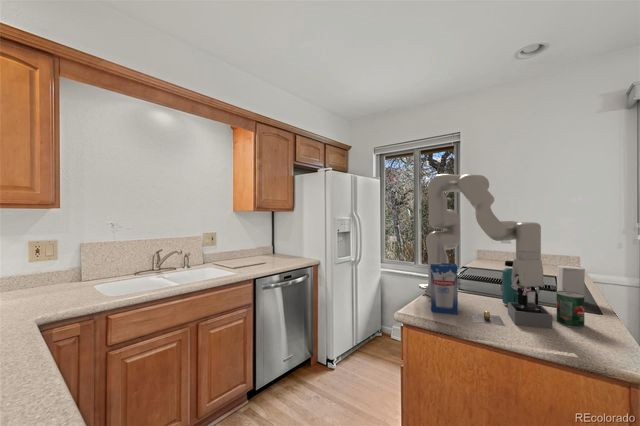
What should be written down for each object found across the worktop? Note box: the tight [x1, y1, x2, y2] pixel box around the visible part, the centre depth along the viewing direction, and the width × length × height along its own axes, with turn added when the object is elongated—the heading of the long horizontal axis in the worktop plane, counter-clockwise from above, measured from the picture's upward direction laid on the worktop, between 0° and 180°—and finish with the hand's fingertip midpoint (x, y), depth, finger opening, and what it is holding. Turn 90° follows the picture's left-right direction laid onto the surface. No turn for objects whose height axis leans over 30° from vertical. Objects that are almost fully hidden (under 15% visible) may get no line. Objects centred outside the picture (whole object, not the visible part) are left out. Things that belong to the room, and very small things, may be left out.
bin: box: [507, 302, 553, 330], centre depth 106 cm, size 11×11×6 cm
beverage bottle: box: [501, 260, 518, 306], centre depth 124 cm, size 6×7×20 cm
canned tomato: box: [555, 290, 586, 329], centre depth 106 cm, size 8×8×11 cm
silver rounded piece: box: [517, 289, 541, 313], centre depth 106 cm, size 5×5×10 cm
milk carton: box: [430, 263, 459, 315], centre depth 118 cm, size 10×6×20 cm, turn 70°
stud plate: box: [470, 310, 506, 327], centre depth 109 cm, size 10×10×4 cm
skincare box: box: [556, 264, 586, 296], centre depth 131 cm, size 8×7×16 cm
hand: (528, 303), depth 107 cm, fingers closed on silver rounded piece, 4 cm apart
